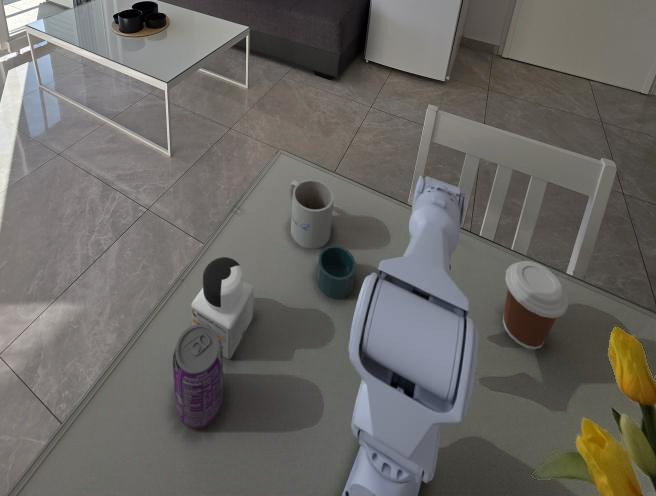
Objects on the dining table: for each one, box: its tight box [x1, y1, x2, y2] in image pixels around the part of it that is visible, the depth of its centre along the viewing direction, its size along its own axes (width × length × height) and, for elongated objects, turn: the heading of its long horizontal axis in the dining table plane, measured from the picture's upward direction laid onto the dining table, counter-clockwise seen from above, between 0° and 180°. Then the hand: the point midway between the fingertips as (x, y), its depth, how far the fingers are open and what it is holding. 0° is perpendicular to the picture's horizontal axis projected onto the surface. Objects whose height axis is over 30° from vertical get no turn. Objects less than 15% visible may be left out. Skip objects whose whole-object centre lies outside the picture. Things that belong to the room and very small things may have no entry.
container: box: [191, 256, 254, 360], centre depth 72 cm, size 8×8×13 cm
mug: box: [289, 179, 335, 250], centre depth 93 cm, size 12×9×10 cm
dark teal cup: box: [316, 245, 357, 300], centre depth 82 cm, size 7×7×5 cm
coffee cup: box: [502, 260, 569, 350], centre depth 74 cm, size 9×9×12 cm
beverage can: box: [172, 324, 224, 430], centre depth 63 cm, size 7×7×12 cm
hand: (416, 316), depth 67 cm, fingers open, 7 cm apart
